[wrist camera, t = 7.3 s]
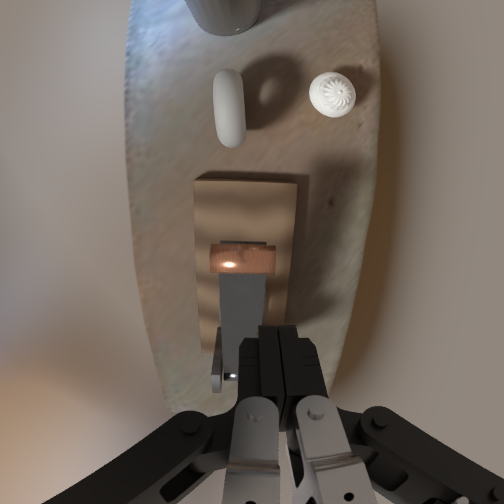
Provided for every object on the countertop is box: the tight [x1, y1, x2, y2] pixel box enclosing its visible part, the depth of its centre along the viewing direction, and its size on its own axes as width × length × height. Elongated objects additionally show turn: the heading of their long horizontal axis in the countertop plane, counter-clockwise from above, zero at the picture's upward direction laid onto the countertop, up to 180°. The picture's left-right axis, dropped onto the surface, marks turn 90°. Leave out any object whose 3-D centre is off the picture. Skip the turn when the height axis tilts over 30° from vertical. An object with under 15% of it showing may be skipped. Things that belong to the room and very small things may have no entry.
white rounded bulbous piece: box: [309, 72, 356, 117], centre depth 34 cm, size 6×6×7 cm
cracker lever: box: [209, 240, 276, 381], centre depth 38 cm, size 24×6×6 cm, turn 178°
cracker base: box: [194, 178, 298, 393], centre depth 42 cm, size 30×14×13 cm, turn 178°
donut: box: [213, 69, 246, 148], centre depth 34 cm, size 10×3×10 cm, turn 4°
